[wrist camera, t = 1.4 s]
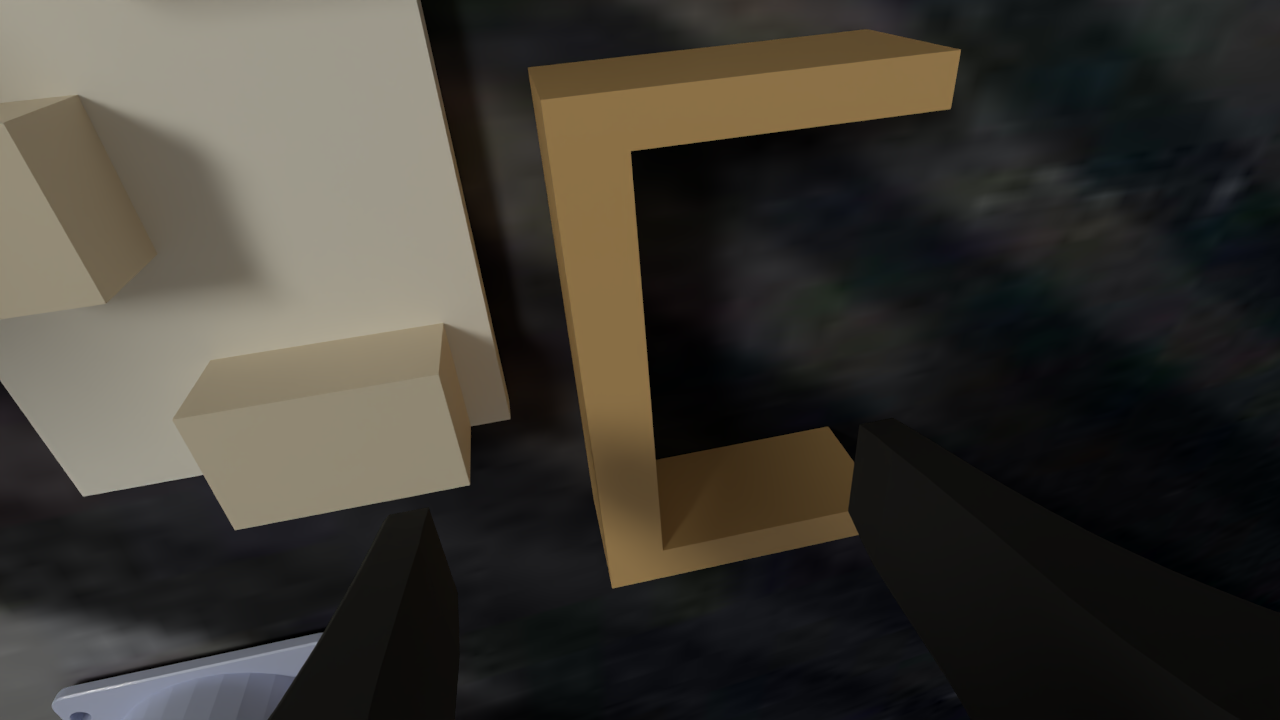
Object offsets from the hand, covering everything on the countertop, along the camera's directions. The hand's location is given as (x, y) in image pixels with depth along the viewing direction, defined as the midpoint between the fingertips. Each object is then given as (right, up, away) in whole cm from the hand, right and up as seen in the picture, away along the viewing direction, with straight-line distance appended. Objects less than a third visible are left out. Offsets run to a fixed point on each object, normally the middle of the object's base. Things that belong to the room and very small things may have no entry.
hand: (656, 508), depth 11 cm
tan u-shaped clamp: (+1, +4, +6) cm, 7 cm away
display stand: (-9, +6, +2) cm, 11 cm away
